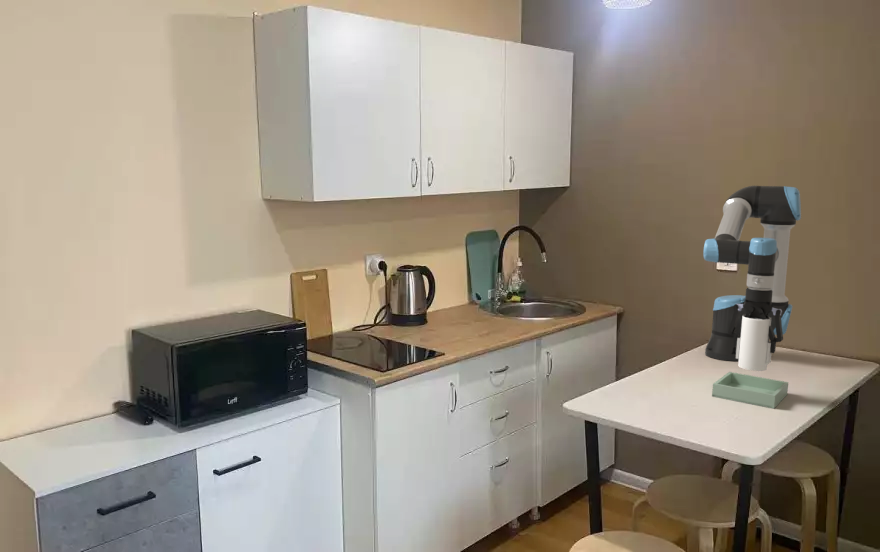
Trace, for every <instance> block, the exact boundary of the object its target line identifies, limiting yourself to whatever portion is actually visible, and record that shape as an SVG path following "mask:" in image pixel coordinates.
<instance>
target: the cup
mask: <svg viewBox="0 0 880 552" xmlns="http://www.w3.org/2000/svg"><path fill="white" fill-rule="evenodd" d="M745 316H746V315H743V316H742V327H741V338H740V350H739V361H737V363H738V364H737V366H738V367H739V368H740V369H744V370H747V371H753V372H762V371H763V372H764V371H767V369H768V364H766V357H767V347H768V342H770V338H769V336H768V332H769V326H771V318H770V317H769V319H768V320H762V319H758V318H746V317H745Z"/></svg>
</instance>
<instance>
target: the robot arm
mask: <svg viewBox="0 0 880 552" xmlns="http://www.w3.org/2000/svg"><path fill="white" fill-rule="evenodd" d="M800 193H801V192H800V190H799V189H798V188H797V187H794V186H785V185H777V186H776V185H749V186H744V187H743V188H740V189H738V190H736V191H735V192H733V193H732V194H731V195H729V196H728V197H727V199H726V200H725V202H724V205H723V206H722V213H723V216H722V218H721V220H720V223H719V225H718V229H717V231H716V234H715V236H714V238H708V239H705V241H704V246H703V252H702V253H703V259H704V261H706V262H711V263H712V262H713V263H716V264H717V263H719V264H720V263H723V264H734V265H735V264H736V265H747V266H748V267H747V274H746V288H745V295H740V294H736V295H735V294H734V295H733V294H732V295H730V294H729V295H722V296H718V297H716V298H715V299H714V301H713V303H714V304H713V308H712V311H713V313H712V326H711V333H710V337H709V339H708V342H707V344H706V347H705V349H704V352H705V353H704V355H705V356H707V357H709V358H712V359H715V360H721V361H729V362H730V361H731V362H738V361H739V350H740V338H741V327H742V316H743V315H746V316H745V317H746V318H758V319H762V320H768V319H769V317H770V318H771V326H769V332H768V336H769V338H770V339H769V342H768V347H767V357H766V364H767V365H768V364H770V363H771V360H772V354H774V353H775V352H776V349H777V348H776V347H777V343H780V342H783V340H784V335H785V334H786V333H787V331H788V330H787V329H788V327H789V323H790V318H791V315H792V311H793V305H792V304H791V303H789V298H788V296H786V295H785V294H786V285H787V284H786V283H787V271H788V260H789V259H788V258H789V251H790V238H791V230H792V229H793V228H794V227H795V226H796V225H797V221H800V220H801V219H802V208H801V207H802V206H801V204H802V203H801V194H800ZM748 219H760V221H759V223H760V225H761V226H762V227H763V229H764V230H763V237H752V238H751V239H750V240H749V241H748V240H740V239H741V236H742V233H743V230H744V227H745V224H746V221H747V220H748Z"/></svg>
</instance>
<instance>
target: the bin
mask: <svg viewBox="0 0 880 552" xmlns="http://www.w3.org/2000/svg"><path fill="white" fill-rule="evenodd" d="M788 391H789V382H788V381H783V380H777V379H771V378H766V377H761V376H755V375H750V374H744V373H737V372H732V371H728V372H727V373H725V374H724V375H723V376H721V377H720V378H718V380H716V381H715V382H713V383H712V391H711V397H713V398H714V397H715V398H719V399H723V400H729V401H734V402H739V403H744V404H749V405H754V406H757V407H758V406H759V407H762V408H763V407H764V408H768V409H773V410H774V409H776V407H777V406H778V405H779V404H780V403H781V402H782V401H783V400H784V399H785V397H786V396H787V395H788Z"/></svg>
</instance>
